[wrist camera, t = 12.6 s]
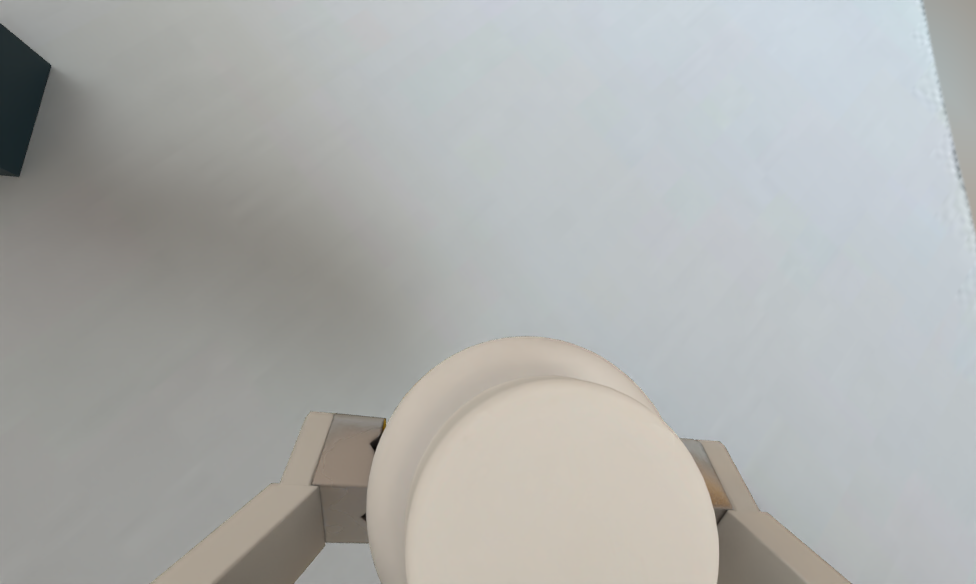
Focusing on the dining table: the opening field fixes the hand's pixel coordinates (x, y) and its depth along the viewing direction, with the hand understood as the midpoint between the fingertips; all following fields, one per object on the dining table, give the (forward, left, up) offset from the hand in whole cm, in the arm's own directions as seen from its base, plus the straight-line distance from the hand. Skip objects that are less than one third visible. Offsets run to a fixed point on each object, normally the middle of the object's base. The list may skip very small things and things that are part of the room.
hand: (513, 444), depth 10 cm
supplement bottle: (-1, 0, -6) cm, 6 cm away
